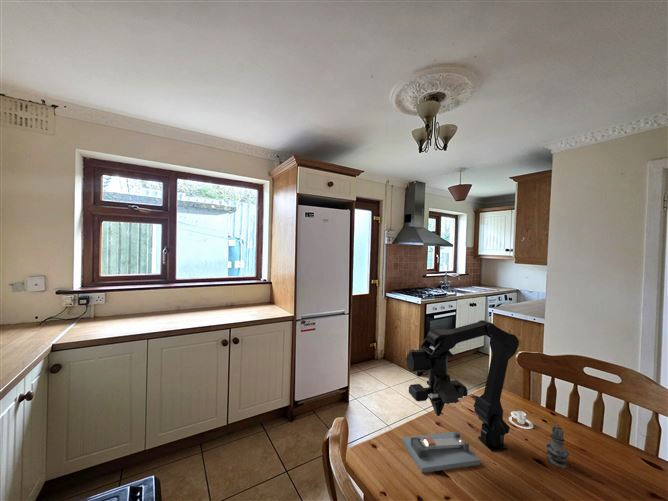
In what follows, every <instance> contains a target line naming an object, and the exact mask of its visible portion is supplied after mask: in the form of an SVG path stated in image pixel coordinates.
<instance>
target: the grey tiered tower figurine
mask: <svg viewBox="0 0 668 501" xmlns="http://www.w3.org/2000/svg"><path fill="white" fill-rule="evenodd" d="M564 432H565V431H564V429H563V428H562V427H560V425H559V424H558V423H557V424H556V425H553V426H552V427H551V434H550V438H551V439H550V443H546V444H545V448H546V451H547V453H548V454H546V456H545V458H546V459H547V461H548V462H550V464H552V465H554V466H556V467H558V468H563V469H566V468H568V466H569V465H568V462H567V460H568V458H569V457H570V453H569V451H568V450H567V449H565V447H564V446H565V444H564V443H566V440H565V439H564Z"/></svg>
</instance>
